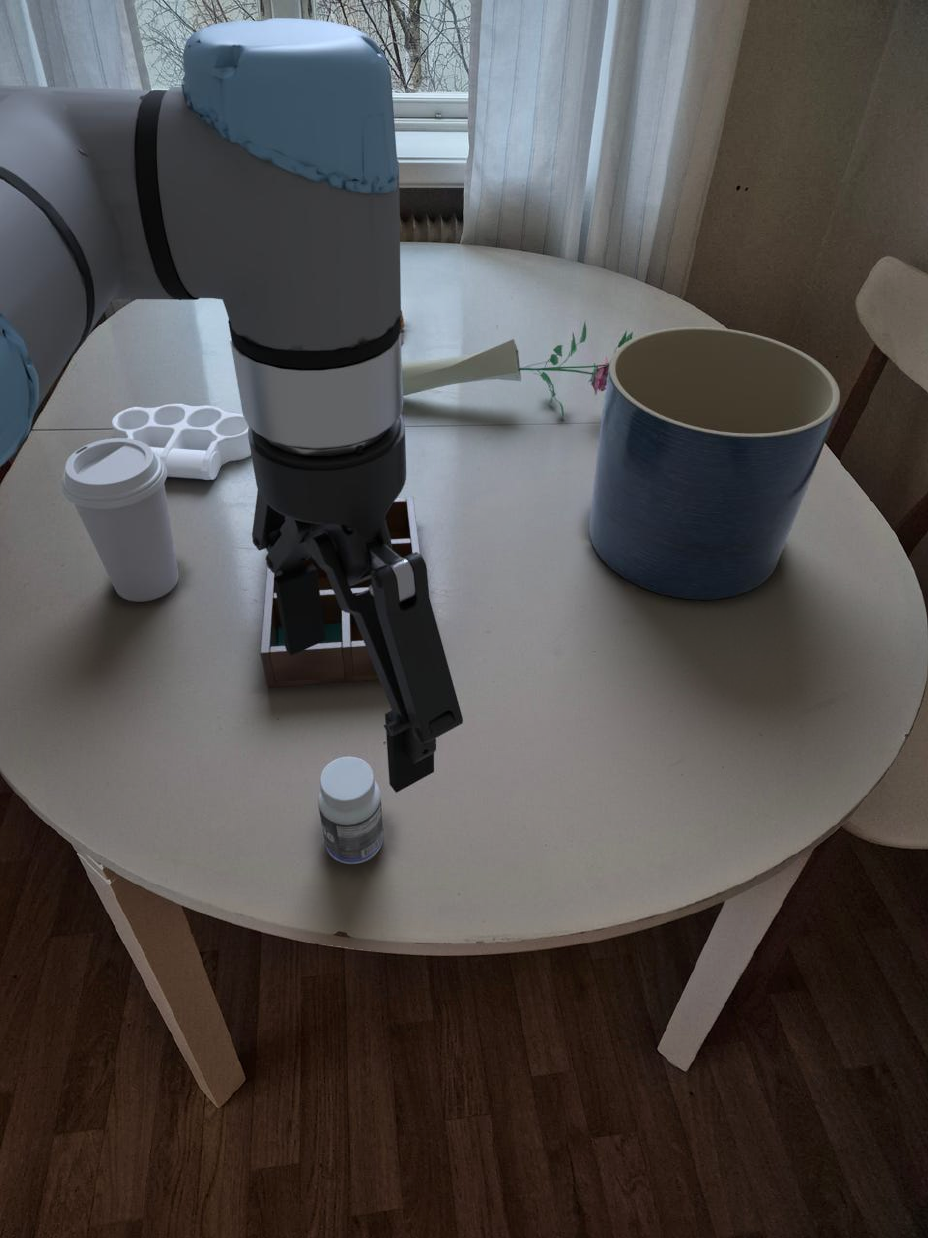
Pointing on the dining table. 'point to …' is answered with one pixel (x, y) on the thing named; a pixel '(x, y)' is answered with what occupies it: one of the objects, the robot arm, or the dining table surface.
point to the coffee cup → (125, 514)
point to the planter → (705, 458)
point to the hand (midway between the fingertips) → (355, 707)
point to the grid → (331, 622)
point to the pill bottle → (350, 810)
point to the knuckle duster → (187, 437)
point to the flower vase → (493, 368)
